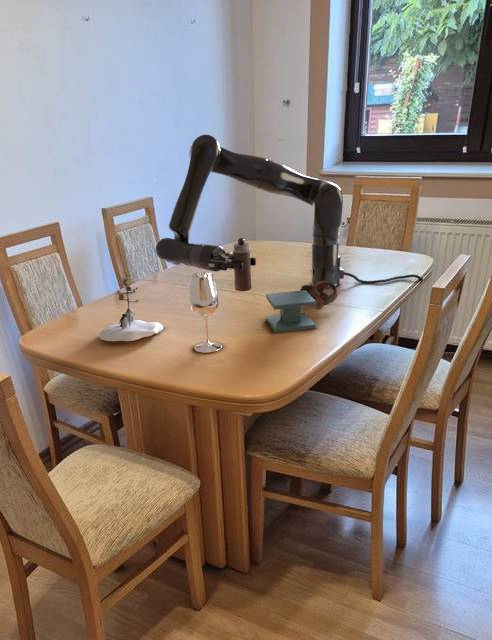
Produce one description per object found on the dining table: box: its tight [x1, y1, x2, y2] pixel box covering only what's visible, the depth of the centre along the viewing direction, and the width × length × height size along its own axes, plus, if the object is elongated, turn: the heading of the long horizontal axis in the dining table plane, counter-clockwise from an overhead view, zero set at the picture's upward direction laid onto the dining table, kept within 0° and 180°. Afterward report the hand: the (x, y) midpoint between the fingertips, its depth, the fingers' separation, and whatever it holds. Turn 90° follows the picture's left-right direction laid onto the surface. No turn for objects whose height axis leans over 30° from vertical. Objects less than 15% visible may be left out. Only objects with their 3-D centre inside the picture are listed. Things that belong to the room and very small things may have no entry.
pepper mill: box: [232, 237, 252, 292], centre depth 171 cm, size 5×5×15 cm
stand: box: [265, 290, 317, 334], centre depth 170 cm, size 12×12×8 cm
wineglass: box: [188, 271, 222, 354], centre depth 155 cm, size 8×8×20 cm
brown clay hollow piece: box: [299, 281, 338, 309], centre depth 185 cm, size 12×10×8 cm
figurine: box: [98, 277, 164, 342], centre depth 169 cm, size 20×18×16 cm
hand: (248, 264), depth 169 cm, fingers closed on pepper mill, 5 cm apart
